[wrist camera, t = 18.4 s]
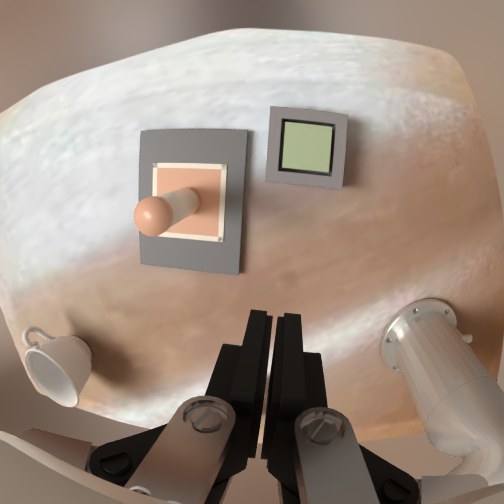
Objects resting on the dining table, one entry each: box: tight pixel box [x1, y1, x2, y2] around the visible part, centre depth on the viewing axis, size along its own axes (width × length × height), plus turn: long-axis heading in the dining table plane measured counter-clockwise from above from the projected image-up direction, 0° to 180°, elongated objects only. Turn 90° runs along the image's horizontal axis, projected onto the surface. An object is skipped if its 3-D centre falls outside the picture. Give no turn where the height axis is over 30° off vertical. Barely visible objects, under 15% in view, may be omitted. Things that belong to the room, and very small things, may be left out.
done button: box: [282, 122, 332, 173], centre depth 29 cm, size 5×5×2 cm
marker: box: [134, 188, 201, 237], centre depth 29 cm, size 3×3×10 cm
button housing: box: [265, 106, 348, 190], centre depth 30 cm, size 8×8×3 cm
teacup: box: [22, 326, 92, 407], centre depth 39 cm, size 12×15×10 cm
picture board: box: [139, 129, 248, 275], centre depth 34 cm, size 13×17×1 cm
